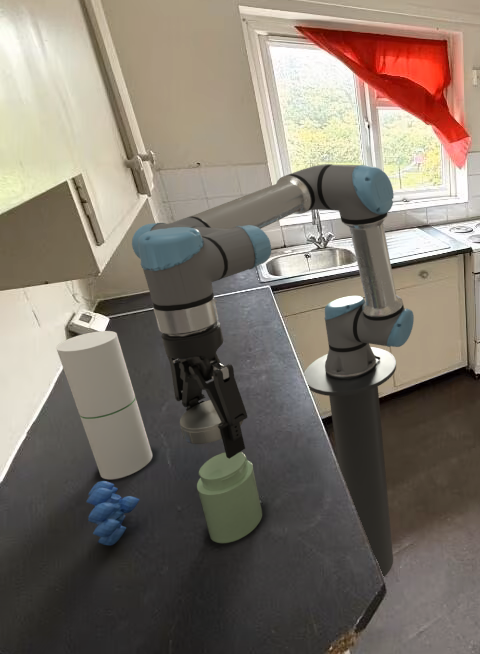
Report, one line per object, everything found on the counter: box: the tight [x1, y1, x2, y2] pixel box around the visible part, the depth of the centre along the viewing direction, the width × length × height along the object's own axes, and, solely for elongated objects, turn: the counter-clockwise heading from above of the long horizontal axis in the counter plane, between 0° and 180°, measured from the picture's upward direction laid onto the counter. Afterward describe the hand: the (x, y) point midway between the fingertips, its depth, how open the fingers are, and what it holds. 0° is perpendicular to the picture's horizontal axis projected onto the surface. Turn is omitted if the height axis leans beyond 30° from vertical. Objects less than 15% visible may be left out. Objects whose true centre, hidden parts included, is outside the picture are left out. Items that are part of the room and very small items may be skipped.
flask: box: [196, 451, 263, 544], centre depth 77 cm, size 8×8×14 cm
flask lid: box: [179, 399, 244, 445], centre depth 72 cm, size 8×8×3 cm
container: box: [55, 330, 153, 480], centre depth 87 cm, size 9×9×30 cm
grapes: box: [85, 480, 141, 546], centre depth 74 cm, size 12×7×12 cm, turn 42°
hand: (219, 444), depth 74 cm, fingers closed on flask lid, 8 cm apart
